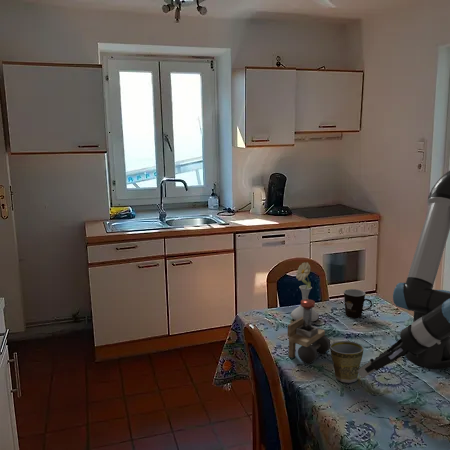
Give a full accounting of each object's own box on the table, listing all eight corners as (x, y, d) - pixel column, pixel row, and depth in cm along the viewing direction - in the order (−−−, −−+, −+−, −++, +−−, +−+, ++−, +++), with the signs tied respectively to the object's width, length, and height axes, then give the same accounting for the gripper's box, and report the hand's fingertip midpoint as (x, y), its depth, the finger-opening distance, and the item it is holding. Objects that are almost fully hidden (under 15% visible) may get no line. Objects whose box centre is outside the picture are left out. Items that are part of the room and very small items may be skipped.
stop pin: (316, 332, 157) (317, 301, 155) (309, 337, 154) (310, 305, 152) (304, 329, 160) (305, 298, 158) (297, 333, 157) (298, 301, 154)
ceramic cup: (362, 387, 136) (362, 355, 135) (328, 383, 140) (328, 351, 138) (364, 368, 148) (364, 338, 147) (333, 364, 152) (332, 335, 150)
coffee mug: (338, 312, 194) (339, 290, 192) (356, 310, 197) (357, 288, 195) (354, 323, 183) (355, 299, 181) (372, 320, 186) (374, 297, 184)
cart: (330, 353, 159) (331, 321, 157) (313, 366, 150) (313, 333, 148) (305, 344, 165) (306, 314, 163) (287, 357, 156) (287, 325, 154)
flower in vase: (289, 313, 194) (290, 256, 189) (316, 314, 193) (318, 256, 189) (292, 326, 181) (293, 265, 176) (321, 326, 181) (323, 265, 176)
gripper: (422, 356, 120) (359, 393, 133) (437, 339, 130) (377, 375, 143) (402, 332, 122) (343, 371, 136) (418, 317, 132) (361, 355, 146)
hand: (360, 373), depth 139 cm, fingers closed
